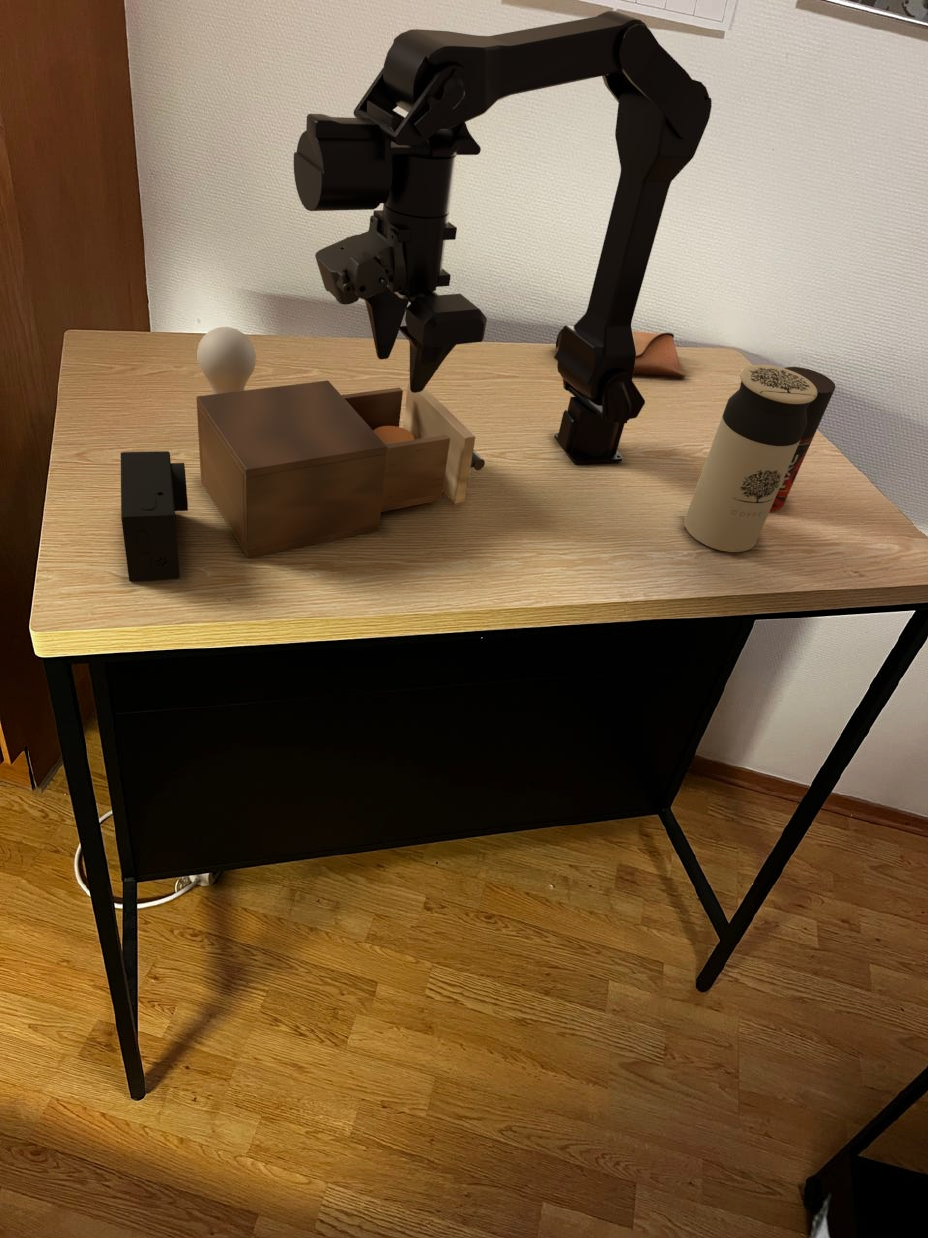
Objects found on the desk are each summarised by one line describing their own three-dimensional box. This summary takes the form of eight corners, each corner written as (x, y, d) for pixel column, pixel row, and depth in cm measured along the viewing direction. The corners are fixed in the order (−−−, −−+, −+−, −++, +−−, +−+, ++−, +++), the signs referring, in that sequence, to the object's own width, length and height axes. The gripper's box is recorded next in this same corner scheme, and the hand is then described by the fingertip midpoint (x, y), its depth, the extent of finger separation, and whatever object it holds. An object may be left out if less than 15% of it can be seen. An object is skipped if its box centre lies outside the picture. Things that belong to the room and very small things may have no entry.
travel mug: (678, 507, 101) (731, 357, 90) (747, 517, 102) (808, 369, 90) (689, 549, 95) (747, 393, 84) (762, 559, 96) (830, 406, 84)
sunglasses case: (571, 372, 123) (573, 321, 122) (553, 376, 130) (555, 327, 128) (690, 377, 127) (693, 328, 126) (667, 380, 134) (670, 334, 133)
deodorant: (756, 515, 102) (807, 395, 93) (723, 487, 106) (768, 369, 96) (793, 507, 105) (847, 389, 95) (760, 480, 109) (808, 364, 99)
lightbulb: (189, 425, 100) (183, 330, 92) (221, 404, 104) (217, 312, 97) (237, 442, 98) (234, 347, 91) (267, 420, 103) (267, 328, 96)
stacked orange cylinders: (407, 456, 97) (411, 422, 95) (420, 484, 94) (425, 448, 91) (358, 458, 96) (361, 423, 93) (370, 486, 92) (373, 451, 89)
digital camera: (194, 578, 80) (189, 514, 76) (129, 582, 79) (121, 516, 74) (187, 512, 88) (183, 449, 83) (127, 514, 86) (120, 450, 81)
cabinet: (324, 461, 98) (328, 379, 92) (379, 530, 90) (387, 446, 84) (200, 481, 92) (196, 396, 86) (247, 558, 83) (246, 469, 77)
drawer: (441, 437, 104) (450, 375, 99) (497, 495, 96) (510, 430, 91) (306, 460, 96) (309, 393, 91) (356, 524, 88) (361, 455, 83)
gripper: (287, 173, 79) (284, 341, 89) (380, 250, 68) (365, 433, 78) (399, 172, 85) (384, 331, 95) (503, 244, 73) (474, 416, 83)
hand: (399, 374), depth 87 cm, fingers open, 7 cm apart
